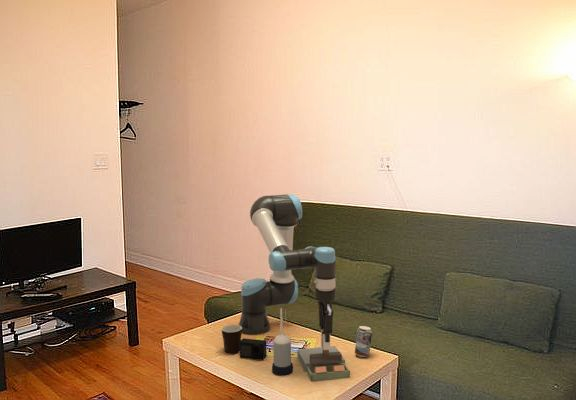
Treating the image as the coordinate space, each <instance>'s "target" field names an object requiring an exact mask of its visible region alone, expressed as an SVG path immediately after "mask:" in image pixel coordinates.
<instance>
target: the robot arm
mask: <svg viewBox="0 0 576 400" xmlns="http://www.w3.org/2000/svg"><path fill="white" fill-rule="evenodd" d="M249 217H250V220H251V222H252V224H253V226H255V227H256V228H257V229H258V231H259V233H260V235H261V237H262V239H263V241H264V243H265V245H266V248H267V249H268V252H269V255H268V265H269V268H270V270H271V271H273V272H272V273H271V274H270V275H269V280H268V281H267V280H266V279H265V278H261V277H260V278H251V279H249V280H245V281H244V282H243V283H242V284H241V287H240V289H241V290H240V296H241V299H240V300H241V315H240V319H239V322H238V325H239V326H241V327H242V333H241V334H245V335H253V336H254V335H262V334H265V333H268V332H269V331H270V330H271V322H270V319H269V317H268V312H267V307H274V306H281V305H288V304H292V303H294V302H295V301H296V300H297V298H298V295H299V285H298V281H297V280H296V278H295V276H294V275H293V274H292V270H303V269H310V268H311V269H312V268H313V269H315V273H314V274H315V280H314V284H315V299H316V300H318V301H317V305H318V321H319V324H318V325H319V327H320V347H323V350H330V346H331V335H332V334H333V323H334V321H333V318H334V310H333V309H332V308H333V305H332V303H331V301H333V300H335V299H336V251H335V249H334V248H333V247H330V246H318V247H315V246H307V247H305V248H303V249H302V248H301V249H294V248H293V247H294V246H293V245H294V228H295V227H296V226H297V225H298V220H301V219H302V218H303V206H302V203H301V200H300V198H299V197H298V196H297V195H295V194H288V193H287V194H276V195H275V194H273V195H263V196H260V197H258V199H256V200H255V201H254V202H253V204H252V205H251V207H250V210H249ZM322 329H324V332H322ZM322 334H323V345H322Z"/></svg>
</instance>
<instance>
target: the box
mask: <svg viewBox="0 0 576 400" xmlns="http://www.w3.org/2000/svg"><path fill="white" fill-rule="evenodd" d="M338 365H344V368H345V371H336V372H332V367H333V366H338ZM325 366H326V370H327V372H326V373H317V374H314V369H315V367H325ZM306 374H307V376H308V378H309V380H310V382H316V381H317V382H319V381H327V380H337V379H345V378H346V379H347V378H351V370H350V369H349V368H348V366H347V364H346V362H345V363H339V364H329V365H319V366H309V367H307V372H306Z"/></svg>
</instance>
